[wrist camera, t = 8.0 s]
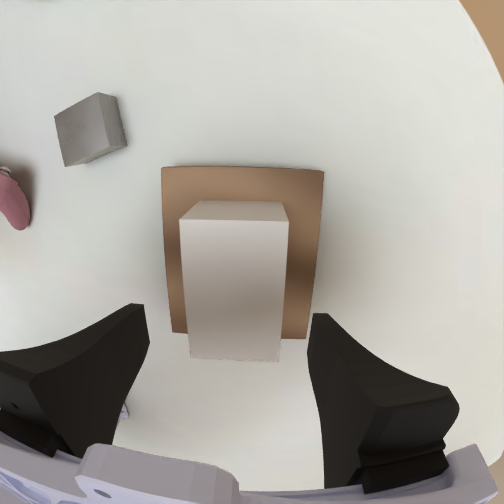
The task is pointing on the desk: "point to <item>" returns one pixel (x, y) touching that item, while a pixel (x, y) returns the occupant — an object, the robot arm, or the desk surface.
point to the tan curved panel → (248, 189)
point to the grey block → (90, 129)
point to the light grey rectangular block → (234, 278)
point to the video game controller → (13, 201)
